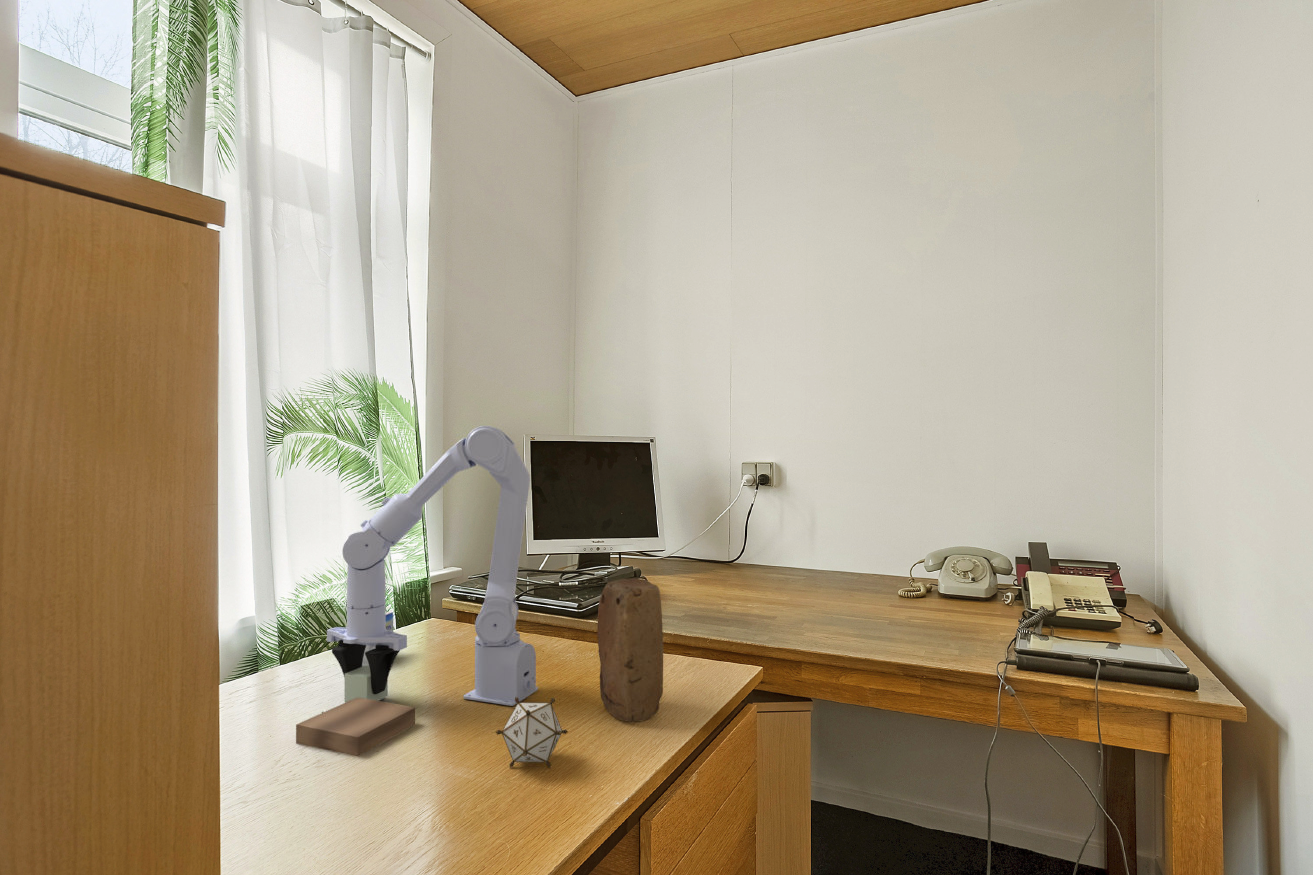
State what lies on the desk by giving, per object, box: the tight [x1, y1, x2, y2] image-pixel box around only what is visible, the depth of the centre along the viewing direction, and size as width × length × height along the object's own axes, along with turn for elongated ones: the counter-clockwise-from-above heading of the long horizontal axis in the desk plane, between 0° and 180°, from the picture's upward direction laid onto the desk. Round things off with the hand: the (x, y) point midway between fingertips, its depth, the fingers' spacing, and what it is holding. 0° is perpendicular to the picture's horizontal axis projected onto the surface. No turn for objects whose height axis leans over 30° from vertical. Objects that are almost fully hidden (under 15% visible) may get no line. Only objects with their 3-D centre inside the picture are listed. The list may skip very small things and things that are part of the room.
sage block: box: [344, 665, 389, 703], centre depth 110 cm, size 4×4×4 cm
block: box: [596, 577, 664, 723], centre depth 105 cm, size 11×8×20 cm
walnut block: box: [295, 697, 416, 757], centre depth 97 cm, size 11×11×3 cm
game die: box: [494, 697, 569, 770], centre depth 88 cm, size 9×8×10 cm
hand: (366, 689), depth 110 cm, fingers closed on sage block, 4 cm apart
